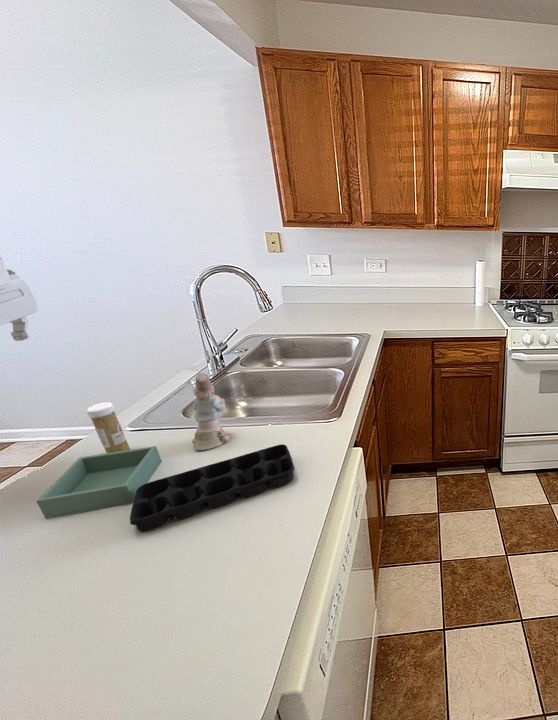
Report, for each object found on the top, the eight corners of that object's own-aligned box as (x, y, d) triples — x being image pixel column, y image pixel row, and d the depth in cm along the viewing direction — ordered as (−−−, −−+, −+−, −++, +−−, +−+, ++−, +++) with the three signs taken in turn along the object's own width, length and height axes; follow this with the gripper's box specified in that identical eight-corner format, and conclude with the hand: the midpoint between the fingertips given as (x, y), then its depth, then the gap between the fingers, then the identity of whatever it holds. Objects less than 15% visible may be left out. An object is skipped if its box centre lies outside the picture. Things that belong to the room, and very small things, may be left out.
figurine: (226, 448, 100) (205, 377, 92) (188, 453, 98) (164, 380, 90) (237, 430, 108) (219, 362, 100) (203, 433, 106) (181, 365, 98)
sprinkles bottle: (132, 453, 98) (112, 406, 93) (107, 461, 95) (86, 413, 90) (130, 445, 101) (111, 399, 96) (106, 453, 98) (85, 406, 93)
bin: (45, 518, 78) (35, 501, 77) (87, 473, 91) (79, 457, 90) (133, 502, 82) (126, 485, 81) (161, 461, 95) (156, 445, 94)
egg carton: (128, 505, 82) (121, 491, 80) (278, 445, 101) (275, 433, 100) (140, 556, 70) (133, 540, 69) (307, 477, 90) (304, 463, 88)
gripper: (-7, 268, 81) (22, 332, 86) (-106, 288, 63) (-63, 368, 68) (33, 267, 83) (58, 330, 88) (-53, 286, 65) (-15, 364, 70)
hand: (5, 347), depth 78 cm, fingers open, 8 cm apart
